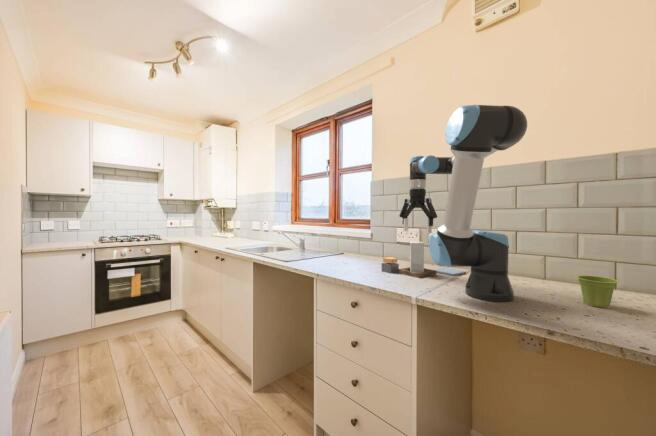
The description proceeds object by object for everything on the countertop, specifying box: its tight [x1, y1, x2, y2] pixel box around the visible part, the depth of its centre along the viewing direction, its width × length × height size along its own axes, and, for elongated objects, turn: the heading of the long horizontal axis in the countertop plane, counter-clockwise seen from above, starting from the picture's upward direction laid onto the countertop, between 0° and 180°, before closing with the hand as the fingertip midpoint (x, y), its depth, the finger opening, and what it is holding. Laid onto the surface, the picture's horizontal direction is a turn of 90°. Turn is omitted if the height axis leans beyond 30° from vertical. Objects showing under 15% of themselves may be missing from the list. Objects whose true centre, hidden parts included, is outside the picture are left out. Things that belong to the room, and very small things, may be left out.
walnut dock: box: [397, 266, 437, 279], centre depth 134 cm, size 12×13×2 cm
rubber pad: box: [435, 267, 467, 277], centre depth 136 cm, size 11×11×1 cm
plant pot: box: [576, 275, 619, 309], centre depth 88 cm, size 9×9×9 cm
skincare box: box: [409, 241, 425, 273], centre depth 134 cm, size 8×7×16 cm
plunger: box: [382, 256, 398, 264], centre depth 139 cm, size 5×5×6 cm
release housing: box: [381, 262, 400, 274], centre depth 139 cm, size 6×6×4 cm
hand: (417, 232), depth 133 cm, fingers open, 13 cm apart
